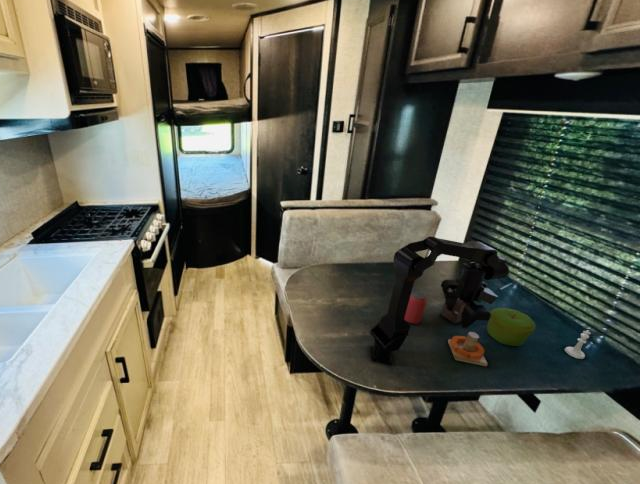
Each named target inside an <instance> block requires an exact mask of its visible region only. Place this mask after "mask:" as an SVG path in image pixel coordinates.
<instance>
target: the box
mask: <svg viewBox="0 0 640 484" xmlns="http://www.w3.org/2000/svg"><path fill="white" fill-rule="evenodd" d="M464 306H466V304H465V303H464V302H463V301H462V300H460V299H459V298H458V299H457V301H456V303H455V306H454V308H453V309H452V311H448V308H447V304H446V300H445V301H444V305H443V306H442V311H441V313H440V315H441V316H442V317H443V318H445V319H447V320H448V321H450V322H451V323H452V324H454V325H455V324H458V323H461V322H462V312H463V308H464Z"/></svg>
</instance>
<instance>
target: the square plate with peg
mask: <svg viewBox="0 0 640 484" xmlns="http://www.w3.org/2000/svg"><path fill="white" fill-rule="evenodd" d="M466 337H467V338H466V340H465V343H463V342H457V344H458V345H459V347H460V348H462V349H464V350H466V351H468V352H477V351H476V350H475V346H476V344H477V343H478V341H479V339H480V335H479V334H478V333H477V332H475V331H468V333H467V335H466ZM451 339H452V338H449V339H448V340H447V342H448V345H449V348H450V350H451V353H452V356H453V358H454V361H458V362H464V363H467V364H473V365H476V366H477V365H478V366H483V367H487V366H488V362H487V360H486V358H485V356H484V355H483V356H482V357H481V359H469V358H468V357H467V358H465V357H463V356H461V355H459V354H458V353H456V351H454V350H453V349H452V347H451V346H450V341H451Z"/></svg>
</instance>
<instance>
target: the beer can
mask: <svg viewBox="0 0 640 484" xmlns="http://www.w3.org/2000/svg"><path fill="white" fill-rule="evenodd" d="M427 300H428V299H427V294H426V293H425V292H424V291H422V290H418V289H412V292H411V295H410V299H409V303H408V307H407V310H406V314H405V318H404V320H405V321H406V322H408V323H410V324H419V323H421V321H422V318H423V315H424V311H425V308H426V305H427Z"/></svg>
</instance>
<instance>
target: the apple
mask: <svg viewBox="0 0 640 484" xmlns="http://www.w3.org/2000/svg"><path fill="white" fill-rule="evenodd" d="M489 312H490V313H491V317H490V320H489V321H487V327H486V331H487V332H486V333H488V334H489V336H491V337H492V338H493V339H494V340H495V341H496V342H498V343H500V344H503V345H505V346H510V347H511V346H512V347H520V346H523V345H524V343H525V342H526V341H527V339H528V338H529V337H530V336H531V335H532V334H533V332H534V331H535V330H536V328H537V327H536V322H534V320H533V319H532V318H531V317H530V316H529V315H527V314H526V313H524V312H521V311H519V310H516V309H512V308H508V307H498V308H494V309H492V310H490V311H489Z"/></svg>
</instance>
